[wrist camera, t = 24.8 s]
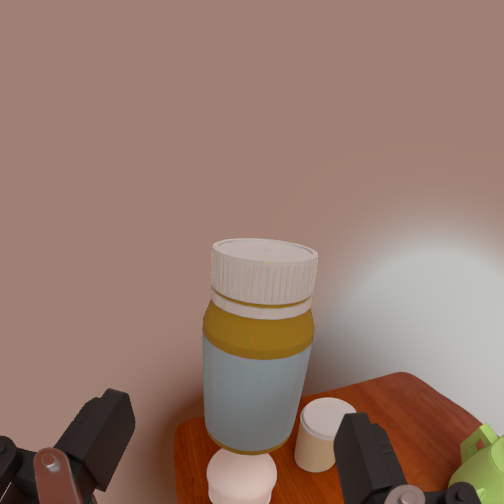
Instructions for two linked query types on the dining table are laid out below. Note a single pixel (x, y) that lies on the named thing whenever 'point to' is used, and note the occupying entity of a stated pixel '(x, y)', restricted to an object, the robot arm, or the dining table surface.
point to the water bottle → (240, 478)
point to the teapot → (483, 465)
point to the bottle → (256, 341)
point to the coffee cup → (319, 433)
